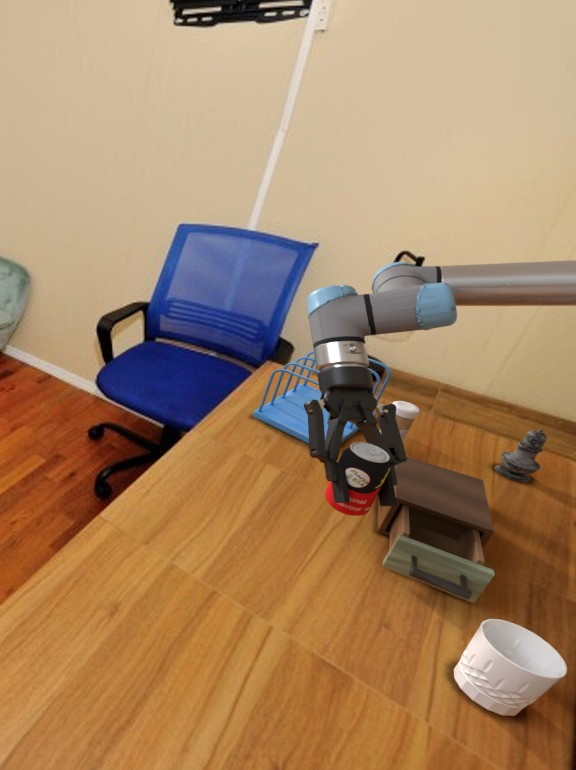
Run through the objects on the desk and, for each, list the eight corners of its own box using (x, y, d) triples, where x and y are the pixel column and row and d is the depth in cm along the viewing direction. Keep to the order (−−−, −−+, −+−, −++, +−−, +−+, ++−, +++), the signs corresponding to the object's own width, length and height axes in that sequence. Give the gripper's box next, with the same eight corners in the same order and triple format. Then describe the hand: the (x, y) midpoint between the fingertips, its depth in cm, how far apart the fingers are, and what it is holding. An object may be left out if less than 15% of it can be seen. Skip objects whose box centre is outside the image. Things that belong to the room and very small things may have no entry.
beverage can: (314, 492, 91) (337, 439, 86) (350, 492, 91) (375, 439, 85) (338, 519, 86) (364, 464, 80) (376, 519, 85) (404, 464, 80)
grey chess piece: (487, 468, 111) (515, 424, 105) (501, 461, 113) (529, 417, 107) (523, 486, 106) (555, 440, 100) (537, 478, 108) (569, 433, 102)
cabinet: (469, 567, 88) (494, 531, 84) (377, 532, 96) (395, 497, 92) (461, 513, 99) (483, 479, 95) (378, 485, 107) (395, 452, 102)
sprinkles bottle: (364, 449, 117) (387, 401, 111) (381, 447, 118) (405, 398, 111) (383, 462, 113) (408, 412, 107) (400, 459, 114) (426, 410, 107)
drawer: (477, 625, 78) (499, 595, 75) (382, 584, 85) (398, 556, 82) (465, 545, 91) (483, 518, 88) (383, 516, 98) (397, 489, 95)
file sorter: (327, 454, 116) (351, 398, 108) (251, 417, 129) (268, 365, 122) (374, 419, 127) (399, 366, 120) (300, 388, 140) (318, 339, 133)
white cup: (507, 732, 66) (549, 689, 62) (435, 675, 73) (468, 632, 68) (537, 705, 69) (579, 662, 64) (465, 653, 75) (498, 610, 71)
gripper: (296, 361, 88) (315, 499, 81) (419, 367, 85) (449, 509, 79) (274, 372, 95) (289, 499, 88) (386, 377, 93) (412, 509, 86)
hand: (365, 504), depth 83 cm, fingers closed on beverage can, 6 cm apart
